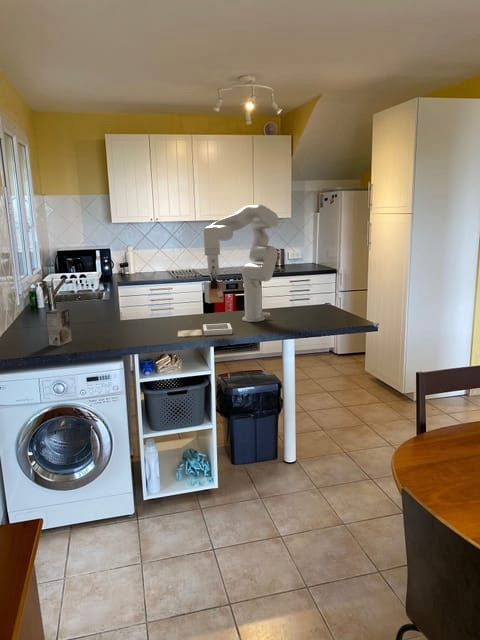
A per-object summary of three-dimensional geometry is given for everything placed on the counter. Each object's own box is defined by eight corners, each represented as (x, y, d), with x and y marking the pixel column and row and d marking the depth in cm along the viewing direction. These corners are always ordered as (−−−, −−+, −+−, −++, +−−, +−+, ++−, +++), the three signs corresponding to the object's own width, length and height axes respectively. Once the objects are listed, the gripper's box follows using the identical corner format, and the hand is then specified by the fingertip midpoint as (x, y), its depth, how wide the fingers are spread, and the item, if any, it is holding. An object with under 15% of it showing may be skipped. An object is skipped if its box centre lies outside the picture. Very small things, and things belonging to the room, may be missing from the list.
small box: (209, 303, 239) (208, 282, 237) (204, 302, 244) (203, 281, 242) (223, 301, 243) (223, 281, 241) (219, 300, 248) (218, 279, 246)
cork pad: (201, 330, 250) (201, 329, 250) (202, 336, 238) (202, 334, 238) (178, 331, 249) (177, 330, 249) (177, 337, 237) (177, 336, 237)
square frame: (229, 327, 255) (229, 323, 254) (232, 333, 241) (232, 329, 240) (203, 329, 253) (202, 324, 253) (204, 335, 240) (203, 330, 239)
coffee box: (61, 340, 239) (57, 308, 235) (72, 341, 237) (69, 308, 233) (49, 345, 230) (45, 311, 227) (60, 345, 228) (56, 312, 225)
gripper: (221, 252, 231) (222, 289, 234) (218, 250, 247) (219, 285, 251) (205, 253, 230) (207, 290, 233) (203, 251, 247) (205, 285, 250)
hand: (213, 287), depth 242 cm, fingers closed on small box, 7 cm apart
